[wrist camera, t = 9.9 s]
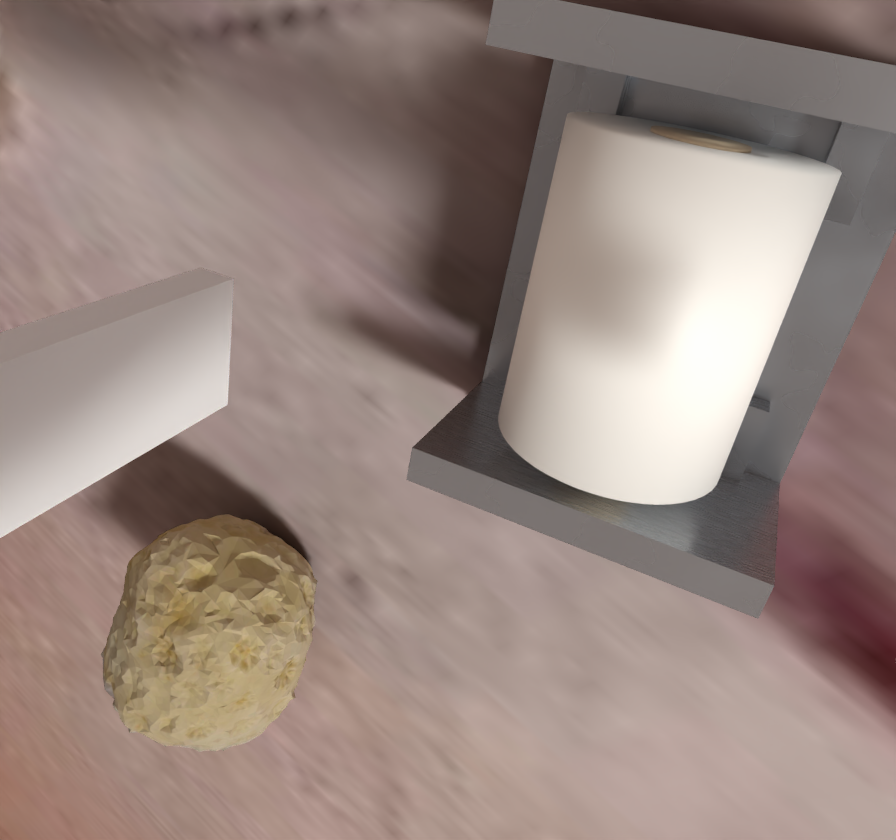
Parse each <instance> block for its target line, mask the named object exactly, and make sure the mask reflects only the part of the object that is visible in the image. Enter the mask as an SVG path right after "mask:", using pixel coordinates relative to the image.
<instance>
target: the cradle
mask: <svg viewBox="0 0 896 840" xmlns="http://www.w3.org/2000/svg"><path fill="white" fill-rule="evenodd" d="M486 45H490V46H494V47H499V48H504V49H508V50H513V51H518V52H522V53H527V54H531V55H536V56H541V57H545V58H550V59H554V61H553V65H552V70H551V74H550V79H549V83H548V88H547V92H546V97H545V101H544V106H543V110H542V115H541V119H540V124H539V128H538V133H537V137H536V142H535V146H534V151H533V155H532V160H531V164H530V169H529V173H528V178H527V182H526V187H525V191H524V196H523V200H522V205H521V209H520V214H519V218H518V223H517V228H516V232H515V237H514V241H513V246H512V250H511V255H510V259H509V264H508V268H507V273H506V277H505V282H504V286H503V291H502V295H501V300H500V304H499V309H498V313H497V318H496V322H495V327H494V331H493V336H492V340H491V345H490V349H489V354H488V358H487V363H486V367H485V372H484V376H483V381H482V382H481V383H480V384H479V385H477V386H476V387H475V388H474V389H473V390H472V391H471V392H470V393H469V394H468V395H467V396H466V397H465V398H464V399H463V400H462V401H461V402H460V403H459V404H458V405H457V406H455V407H454V408H453V409H452V410H451V411H450V412H449V413H448V414H447V415H446V416H445V417H444V418H443V419H442V420H441V421H440V422H439V423H438V424H437V425H436V426H435V427H433V428H432V429H431V430H430V431H429V432H428V433H427V434H426V435H425V436H424V437H423V438H422V439H421V440H420V441H419V442H418V443H417V444H416V445H415V446H414V447H413V448H412V452H411V458H410V463H409V469H408V474H407V480H408V481H411V482H414V483H416V484H419V485H421V486H424V487H426V488H429V489H431V490H434V491H436V492H439V493H441V494H444V495H446V496H449V497H452V498H454V499H457V500H459V501H462V502H464V503H467V504H469V505H472V506H474V507H477V508H479V509H482V510H484V511H487V512H489V513H492V514H495V515H497V516H500V517H502V518H505V519H507V520H510V521H512V522H515V523H517V524H520V525H522V526H525V527H527V528H530V529H532V530H535V531H538V532H540V533H543V534H545V535H548V536H550V537H553V538H555V539H558V540H560V541H563V542H565V543H568V544H570V545H573V546H576V547H578V548H581V549H583V550H586V551H588V552H591V553H593V554H596V555H598V556H601V557H603V558H606V559H608V560H611V561H613V562H616V563H619V564H621V565H624V566H626V567H629V568H631V569H634V570H636V571H639V572H641V573H644V574H646V575H649V576H651V577H654V578H656V579H659V580H662V581H664V582H667V583H669V584H672V585H674V586H677V587H679V588H682V589H684V590H687V591H689V592H692V593H694V594H697V595H700V596H702V597H705V598H707V599H710V600H712V601H715V602H717V603H720V604H722V605H725V606H727V607H730V608H732V609H735V610H737V611H740V612H743V613H745V614H748V615H750V616H753V617H755V618H759V616H760V614H761V612H762V610H763V608H764V605H765V603H766V601H767V599H768V597H769V595H770V593H771V591H772V589H773V587H774V581H775V562H776V544H777V525H778V507H779V488H780V482H781V480H782V477H783V475H784V473H785V471H786V469H787V467H788V464H789V462H790V460H791V458H792V456H793V454H794V451H795V449H796V447H797V445H798V443H799V440H800V438H801V436H802V434H803V432H804V430H805V427H806V425H807V423H808V421H809V419H810V417H811V414H812V412H813V410H814V408H815V406H816V404H817V401H818V399H819V397H820V395H821V393H822V390H823V388H824V386H825V384H826V382H827V380H828V377H829V375H830V373H831V371H832V369H833V367H834V364H835V362H836V360H837V358H838V356H839V354H840V351H841V349H842V347H843V345H844V343H845V340H846V338H847V336H848V334H849V332H850V330H851V327H852V325H853V323H854V321H855V319H856V317H857V314H858V312H859V310H860V308H861V306H862V304H863V301H864V299H865V297H866V295H867V293H868V290H869V288H870V286H871V284H872V282H873V280H874V277H875V275H876V273H877V271H878V269H879V267H880V264H881V262H882V260H883V258H884V256H885V254H886V251H887V249H888V247H889V245H890V243H891V240H892V238H893V236H894V234H895V232H896V65H891V64H885V63H880V62H875V61H870V60H865V59H860V58H855V57H849V56H844V55H839V54H834V53H829V52H824V51H818V50H813V49H808V48H803V47H798V46H793V45H787V44H782V43H777V42H772V41H767V40H762V39H756V38H751V37H746V36H741V35H736V34H731V33H725V32H720V31H715V30H710V29H705V28H700V27H694V26H689V25H684V24H679V23H674V22H669V21H663V20H658V19H653V18H648V17H643V16H638V15H632V14H627V13H622V12H617V11H612V10H607V9H602V8H596V7H591V6H586V5H581V4H576V3H571V2H565V1H560V0H494V1H493V7H492V12H491V18H490V23H489V29H488V34H487V40H486ZM570 112H594V113H604V114H613V115H620V116H627V117H634V118H640V119H646V120H652V121H658V122H663V123H669V124H674V125H679V126H684V127H689V128H694V129H699V130H704V131H708V132H713V133H717V134H722V135H726V136H731V137H735V138H739V139H743V140H747V141H751V142H755V143H759V144H763V145H767V146H771V147H775V148H778V149H782V150H785V151H789V152H792V153H796V154H799V155H802V156H805V157H808V158H812V159H815V160H817V161H820V162H823V163H825V164H828V165H830V166H833V167H835V168H837V169H838V170H840V171H841V173H842V174H841V176H840V179H839V181H838V184H837V186H836V189H835V191H834V194H833V196H832V199H831V201H830V204H829V206H828V209H827V211H826V214H825V216H824V219H823V221H822V224H821V226H820V229H819V231H818V234H817V236H816V239H815V241H814V244H813V246H812V249H811V251H810V254H809V256H808V259H807V261H806V264H805V266H804V269H803V271H802V274H801V276H800V279H799V281H798V284H797V286H796V289H795V291H794V294H793V296H792V299H791V301H790V304H789V306H788V309H787V311H786V314H785V316H784V319H783V321H782V324H781V326H780V329H779V331H778V334H777V336H776V339H775V341H774V344H773V346H772V349H771V351H770V354H769V356H768V359H767V361H766V364H765V366H764V369H763V371H762V374H761V376H760V379H759V381H758V384H757V386H756V388H755V391H754V393H753V396H752V398H751V401H750V403H749V406H748V408H747V411H746V413H745V416H744V418H743V421H742V423H741V426H740V428H739V431H738V433H737V436H736V438H735V441H734V443H733V446H732V448H731V451H730V453H729V456H728V458H727V461H726V463H725V466H724V468H723V471H722V473H721V476H720V478H719V481H718V483H717V485H716V486H715V487H714V489H713V490H712V491H711V492H709V493H708V494H706V495H705V496H703V497H700V498H698V499H696V500H692V501H688V502H685V503H677V504H664V505H654V504H639V503H631V502H625V501H620V500H615V499H610V498H606V497H602V496H599V495H595V494H592V493H589V492H586V491H583V490H580V489H577V488H575V487H572V486H570V485H568V484H565V483H563V482H561V481H559V480H557V479H555V478H553V477H551V476H549V475H547V474H545V473H544V472H542V471H540V470H539V469H537V468H535V467H534V466H533V465H531V464H530V463H528V462H527V461H526V460H524V459H523V458H522V457H521V456H520V455H519V454H517V453H516V452H515V451H514V450H513V449H512V447H511V446H510V445H509V444H508V443H507V441H506V440H505V438H504V437H503V435H502V433H501V431H500V428H499V423H498V416H499V410H500V406H501V401H502V397H503V393H504V388H505V384H506V380H507V375H508V371H509V366H510V362H511V358H512V353H513V349H514V344H515V340H516V336H517V331H518V327H519V322H520V318H521V314H522V309H523V305H524V301H525V296H526V292H527V287H528V283H529V279H530V274H531V270H532V265H533V261H534V257H535V252H536V248H537V243H538V239H539V235H540V230H541V226H542V222H543V217H544V213H545V208H546V204H547V200H548V195H549V191H550V186H551V182H552V178H553V173H554V169H555V164H556V160H557V156H558V151H559V147H560V143H561V138H562V134H563V129H564V125H565V121H566V116H567V114H568V113H570Z"/></svg>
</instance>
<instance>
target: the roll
mask: <svg viewBox="0 0 896 840" xmlns="http://www.w3.org/2000/svg"><path fill="white" fill-rule="evenodd" d="M841 174H842V173H841V171H840V170H838V169H837V168H835V167H833V166H830V165H828V164H825V163H823V162H820V161H817V160H815V159H812V158H808V157H805V156H802V155H799V154H796V153H792V152H789V151H785V150H782V149H778V148H775V147H771V146H767V145H763V144H759V143H755V142H751V141H747V140H743V139H739V138H735V137H731V136H726V135H722V134H717V133H713V132H708V131H704V130H699V129H694V128H689V127H684V126H679V125H674V124H669V123H663V122H658V121H652V120H646V119H640V118H634V117H627V116H620V115H613V114H604V113H594V112H570V113H568V114H567V116H566V121H565V125H564V129H563V134H562V138H561V143H560V147H559V151H558V156H557V160H556V164H555V169H554V173H553V178H552V182H551V186H550V191H549V195H548V200H547V204H546V208H545V213H544V217H543V222H542V226H541V230H540V235H539V239H538V243H537V248H536V252H535V257H534V261H533V265H532V270H531V274H530V279H529V283H528V287H527V292H526V296H525V301H524V305H523V309H522V314H521V318H520V322H519V327H518V331H517V336H516V340H515V344H514V349H513V353H512V358H511V362H510V366H509V371H508V375H507V380H506V384H505V388H504V393H503V397H502V401H501V406H500V410H499V416H498V423H499V428H500V431H501V433H502V435H503V437H504V438H505V440H506V441H507V443H508V444H509V445H510V446H511V447H512V449H513V450H514V451H515V452H516V453H517V454H519V455H520V456H521V457H522V458H523V459H524V460H526V461H527V462H528V463H530V464H531V465H533V466H534V467H535V468H537V469H539V470H540V471H542V472H544V473H545V474H547V475H549V476H551V477H553V478H555V479H557V480H559V481H561V482H563V483H565V484H568V485H570V486H572V487H575V488H577V489H580V490H583V491H586V492H589V493H592V494H595V495H599V496H602V497H606V498H610V499H615V500H620V501H625V502H631V503H639V504H654V505H664V504H677V503H685V502H688V501H692V500H696V499H698V498H700V497H703V496H705V495H706V494H708V493H709V492H711V491H712V490H713V489H714V487H715V486H716V485H717V483H718V481H719V478H720V476H721V473H722V471H723V468H724V466H725V463H726V461H727V458H728V456H729V453H730V451H731V448H732V446H733V443H734V441H735V438H736V436H737V433H738V431H739V428H740V426H741V423H742V421H743V418H744V416H745V413H746V411H747V408H748V406H749V403H750V401H751V398H752V396H753V393H754V391H755V388H756V386H757V384H758V381H759V379H760V376H761V374H762V371H763V369H764V366H765V364H766V361H767V359H768V356H769V354H770V351H771V349H772V346H773V344H774V341H775V339H776V336H777V334H778V331H779V329H780V326H781V324H782V321H783V319H784V316H785V314H786V311H787V309H788V306H789V304H790V301H791V299H792V296H793V294H794V291H795V289H796V286H797V284H798V281H799V279H800V276H801V274H802V271H803V269H804V266H805V264H806V261H807V259H808V256H809V254H810V251H811V249H812V246H813V244H814V241H815V239H816V236H817V234H818V231H819V229H820V226H821V224H822V221H823V219H824V216H825V214H826V211H827V209H828V206H829V204H830V201H831V199H832V196H833V194H834V191H835V189H836V186H837V184H838V181H839V179H840V176H841Z"/></svg>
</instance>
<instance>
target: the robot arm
mask: <svg viewBox="0 0 896 840" xmlns="http://www.w3.org/2000/svg"><path fill="white" fill-rule="evenodd" d="M233 288H234V278H231V277H228V276H225V275H222V274H219V273H216V272H213V271H210V270H207V269H204V268H198V269H195V270H192V271H188V272H185V273H182V274H179V275H176V276H173V277H170V278H167V279H164V280H161V281H158V282H155V283H151V284H148V285H145V286H142V287H139V288H136V289H133V290H130V291H127V292H124V293H121V294H117V295H114V296H111V297H108V298H105V299H102V300H99V301H96V302H93V303H90V304H87V305H84V306H80V307H77V308H74V309H71V310H68V311H65V312H62V313H59V314H56V315H53V316H50V317H46V318H43V319H40V320H37V321H34V322H31V323H28V324H25V325H22V326H19V327H16V328H13V329H9V330H6V331H3V332H0V538H1V537H3V536H4V535H6V534H8V533H10V532H11V531H13V530H15V529H16V528H18V527H20V526H21V525H23V524H25V523H27V522H28V521H30V520H32V519H33V518H35V517H37V516H39V515H40V514H42V513H44V512H45V511H47V510H49V509H50V508H52V507H54V506H56V505H57V504H59V503H61V502H62V501H64V500H66V499H68V498H69V497H71V496H73V495H74V494H76V493H78V492H79V491H81V490H83V489H85V488H86V487H88V486H90V485H91V484H93V483H95V482H97V481H98V480H100V479H102V478H103V477H105V476H107V475H108V474H110V473H112V472H114V471H115V470H117V469H119V468H120V467H122V466H124V465H125V464H127V463H129V462H131V461H132V460H134V459H136V458H137V457H139V456H141V455H143V454H144V453H146V452H148V451H149V450H151V449H153V448H154V447H156V446H158V445H160V444H161V443H163V442H165V441H166V440H168V439H170V438H172V437H173V436H175V435H177V434H178V433H180V432H182V431H183V430H185V429H187V428H189V427H190V426H192V425H194V424H195V423H197V422H199V421H201V420H202V419H204V418H206V417H207V416H209V415H211V414H212V413H214V412H216V411H218V410H219V409H221V408H223V407H224V406H226V405H228V386H229V367H230V347H231V327H232V308H233Z"/></svg>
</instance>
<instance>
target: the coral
mask: <svg viewBox="0 0 896 840" xmlns="http://www.w3.org/2000/svg"><path fill="white" fill-rule="evenodd" d="M316 585H317V580H316V579H315V578H314V576H313V572H312V569H311V566H310V564H309V563H308V562H307V561H306V560H305V558H304V557H303V556H302V555H301V554H300V553H298V552H297V551H296V550H295V549H294V548H293V547H291V546H289V545H288V544H286V543H285V542H284V541H283V540H282V539H281V538H278V537H277V536H274V535H272V534H271V533H269V532H268V531H267V529H266V528H264V527H262V526H260V525H258V524H257V523H255V522H253V521H250V520H248V519H245V520H242V519H240V518H237V517H234V516H232V515H229V514H226V515H218V516H214V517H212V518H209V519H197V520H195V521H192V522H190V523H188V524H182V525H180V526H177V527H175V528H173V529H170V530H168V531H166V532H165V533H163V534H161V535H159V536H158V538H157V539H156V540H154V541H153V542H152V543H151V544H150V545H148V546H147V547H145V548H144V549H142V550H141V551H139V552H138V553H137V554H135V556H134V557H133V558H132V559H131V560H130V561H129V563H128V566H127V573H126V576H125V584H124V592H123V595H122V598H121V601H120V605H119V607H118V609H117V612H116V614H115V616H114V617H113V624H112V627H111V629H110V633H109V636H108V638H107V644H106V646H105V648H104V650H103V652H102V654H101V656H102V657H103V680H104V687H105V690H106V691H107V692H108V693H109V694H110V695H111V696H112V697H113V698H114V699H115V700H114V702H113V706H114V708H115V710H116V711H117V712H118V713H119V716H120V719H121V720H122V722H123V723H124V725H125V726H127V727H128V728H129V733H134V732H139V733H141V734H143V735H145V736H147V737H149V738H151V739H153V740H154V741H155V742H157V743H160V744H162V745H164V746H179V747H186V748H192V749H195V750H197V751H199V752H201V751H206V750H210V751H218V750H220V749H222V750H223V751H224V750H226V749H228V748H230V747H232V746H235V745H240V744H244V743H247V742H249V741H251V740H253V739H254V738H256V737H257V736H259V735H260V734H262V733H263V732H264V730H265V729H266V728H267V727H268V726H269V725H270V723H271V722H273V721H274V720H275V719H277V718H278V717H279V716H280V714H281V712H282V711H283V710H284V709H285V708H286V707H287V704H288V703H289V701H290V700H292V699H294V698H295V694H294V690H295V688H296V687H297V683H298V679H299V676H300V674H301V671H302V669H303V667H304V663H305V661H306V654H307V651H308V649H309V646H310V644H311V642H312V639H313V638H312V631H313V627H314V625H315V616H314V609H313V605H314V600H315V598H314V594H315V592H316V591H315V589H316Z"/></svg>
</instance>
